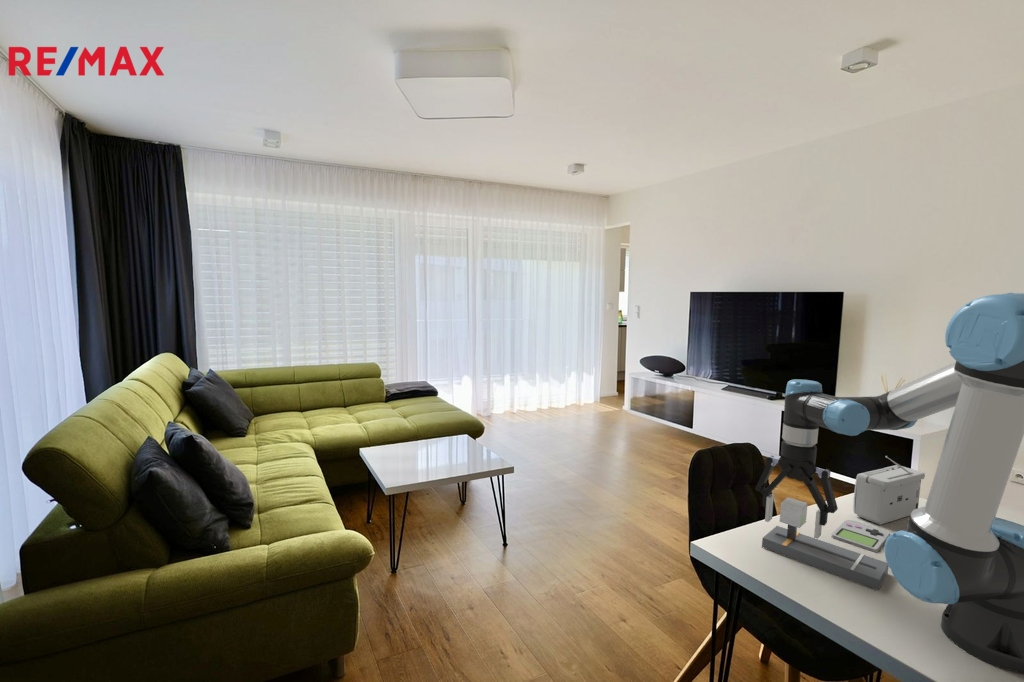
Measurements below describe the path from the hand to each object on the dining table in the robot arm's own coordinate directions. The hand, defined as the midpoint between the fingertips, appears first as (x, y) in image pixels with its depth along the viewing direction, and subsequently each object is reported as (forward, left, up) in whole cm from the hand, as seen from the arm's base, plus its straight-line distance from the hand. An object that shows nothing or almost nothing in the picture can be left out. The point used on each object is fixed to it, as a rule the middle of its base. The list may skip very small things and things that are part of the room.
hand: (792, 528), depth 123 cm
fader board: (-6, -4, -5) cm, 9 cm away
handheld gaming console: (+4, -24, -6) cm, 25 cm away
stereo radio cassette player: (+15, -43, -6) cm, 45 cm away
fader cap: (0, 0, -3) cm, 3 cm away
